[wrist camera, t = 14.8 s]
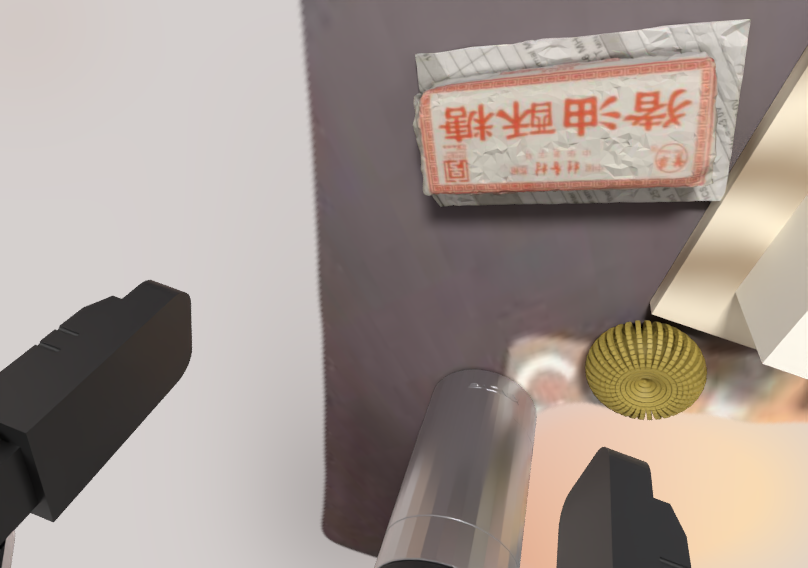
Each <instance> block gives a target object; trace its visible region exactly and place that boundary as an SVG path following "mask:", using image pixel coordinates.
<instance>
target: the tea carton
mask: <svg viewBox="0 0 808 568" xmlns="http://www.w3.org/2000/svg"><path fill="white" fill-rule="evenodd" d="M735 293H736V295H737V298H738V301H739V303H740V306H741V309H742V311H743V314H744V317H745V319H746V322H747V325H748V327H749V330H750V333H751V335H752V338H753V341H754V343H755V346H756V349H757V351H758V354H759V356H760V359H761V362H762V364H765V365H768V366H771V367H774V368H776V369H779V370H782V371H785V372H788V373H791V374H794V375H797V376H799V377H802V378H805V379H808V194H807V195H806V197H805V198H804V200H803V201H802V202H801V204H800V205H799V206H798V208H797V209H796V210H795V212H794V213H793V214H792V216H791V217H790V219H789V220H788V221H787V223H786V224H785V225H784V227H783V228H782V229H781V231H780V232H779V233H778V235H777V236H776V237H775V239H774V240H773V242H772V243H771V244H770V246H769V247H768V248H767V250H766V251H765V252H764V254H763V255H762V256H761V258H760V259H759V261H758V262H757V263H756V265H755V266H754V267H753V269H752V270H751V271H750V273H749V274H748V275H747V277H746V278H745V279H744V281H743V282H742V284H741V285H740V286H739V288H738V289H737V290H736V292H735Z"/></svg>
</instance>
